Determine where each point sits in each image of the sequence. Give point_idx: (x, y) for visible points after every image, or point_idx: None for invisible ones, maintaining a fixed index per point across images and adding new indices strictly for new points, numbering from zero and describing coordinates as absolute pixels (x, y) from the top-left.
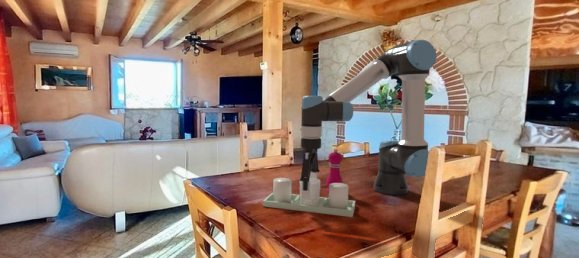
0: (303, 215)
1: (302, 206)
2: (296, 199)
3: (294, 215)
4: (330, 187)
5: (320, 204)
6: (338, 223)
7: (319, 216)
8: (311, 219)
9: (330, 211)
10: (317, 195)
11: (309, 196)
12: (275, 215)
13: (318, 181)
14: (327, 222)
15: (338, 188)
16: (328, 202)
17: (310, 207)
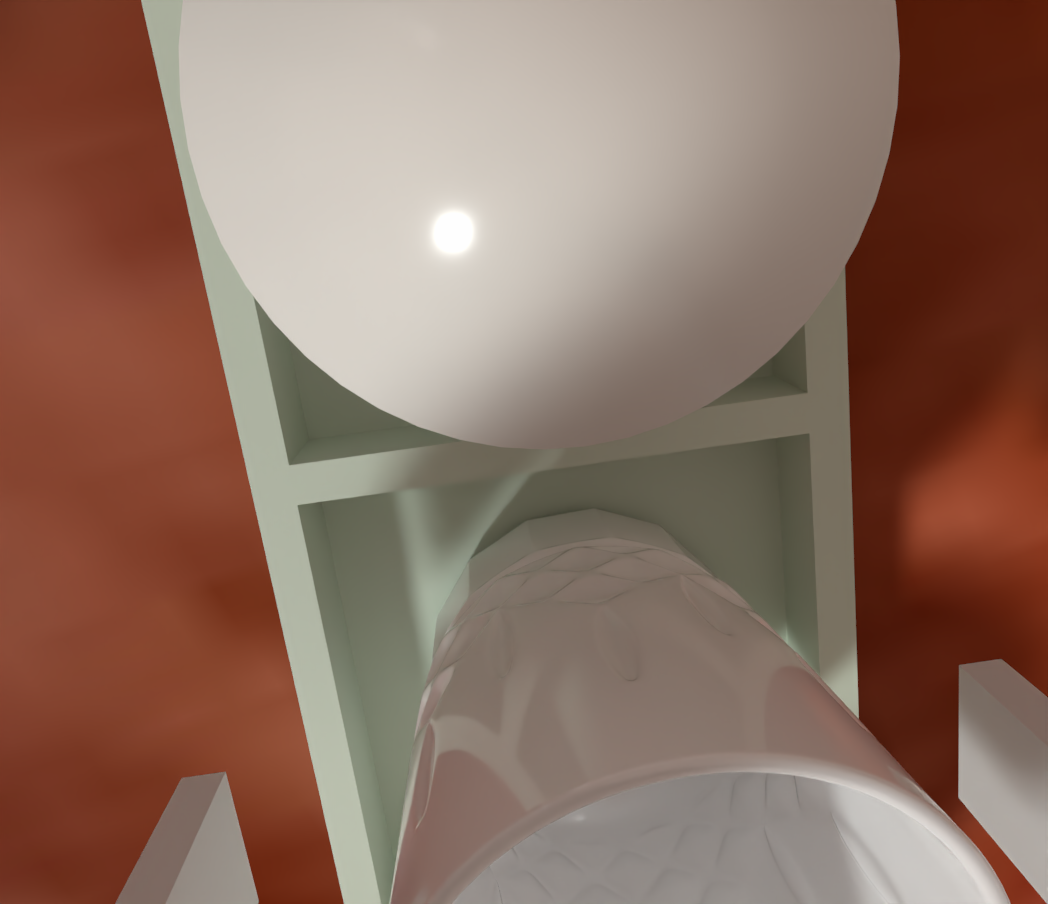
0: (893, 601)
1: (851, 702)
2: None
3: (935, 704)
4: (769, 341)
5: (414, 519)
6: (1033, 11)
7: (849, 381)
8: (1003, 449)
9: None
10: (710, 596)
11: (1010, 691)
12: (1014, 899)
13: (475, 832)
14: (1045, 193)
15: (893, 21)
16: (299, 412)
17: (846, 577)
